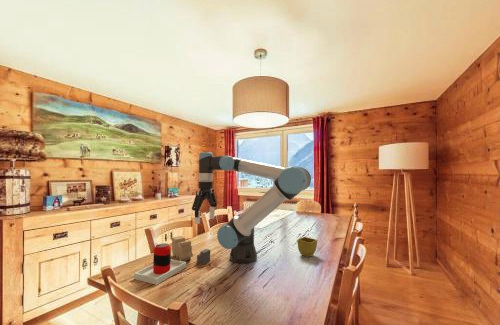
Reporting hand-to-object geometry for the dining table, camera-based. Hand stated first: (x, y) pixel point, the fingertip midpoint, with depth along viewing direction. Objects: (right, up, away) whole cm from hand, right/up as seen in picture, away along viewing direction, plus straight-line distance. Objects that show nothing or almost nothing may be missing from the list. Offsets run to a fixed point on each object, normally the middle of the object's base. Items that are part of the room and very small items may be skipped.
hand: (205, 220), depth 121 cm
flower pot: (+57, -23, +10) cm, 62 cm away
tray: (-18, -21, -14) cm, 31 cm away
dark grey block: (-1, -22, -1) cm, 22 cm away
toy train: (-14, -22, +5) cm, 27 cm away
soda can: (-18, -20, -14) cm, 30 cm away
